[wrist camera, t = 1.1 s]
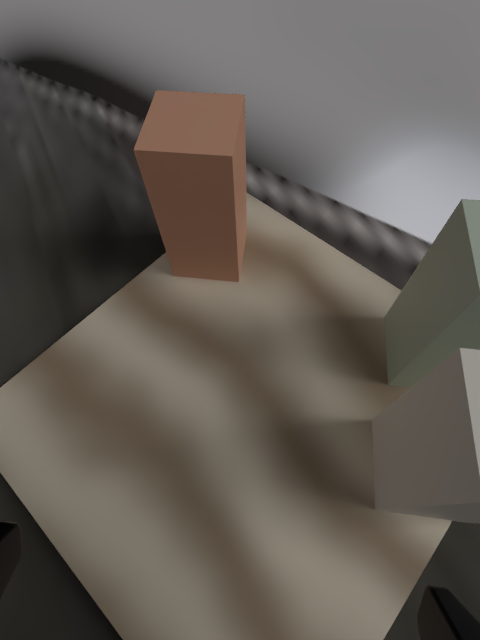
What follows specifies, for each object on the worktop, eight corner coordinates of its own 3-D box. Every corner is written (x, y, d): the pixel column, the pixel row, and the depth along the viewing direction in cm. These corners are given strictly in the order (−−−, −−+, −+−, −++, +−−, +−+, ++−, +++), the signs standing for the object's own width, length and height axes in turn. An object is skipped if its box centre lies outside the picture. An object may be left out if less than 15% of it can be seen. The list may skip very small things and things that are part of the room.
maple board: (267, 818, 15) (268, 837, 14) (-27, 423, 22) (-39, 419, 22) (525, 381, 23) (536, 376, 22) (242, 199, 30) (242, 189, 29)
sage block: (468, 394, 21) (621, 307, 13) (387, 385, 22) (480, 294, 13) (457, 324, 24) (581, 207, 15) (384, 317, 24) (461, 199, 15)
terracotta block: (239, 282, 25) (232, 156, 17) (173, 276, 26) (133, 149, 17) (246, 230, 28) (244, 94, 19) (186, 226, 28) (156, 90, 19)
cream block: (468, 523, 18) (667, 526, 10) (375, 510, 19) (484, 502, 10) (456, 430, 21) (610, 363, 12) (371, 419, 21) (459, 347, 12)
